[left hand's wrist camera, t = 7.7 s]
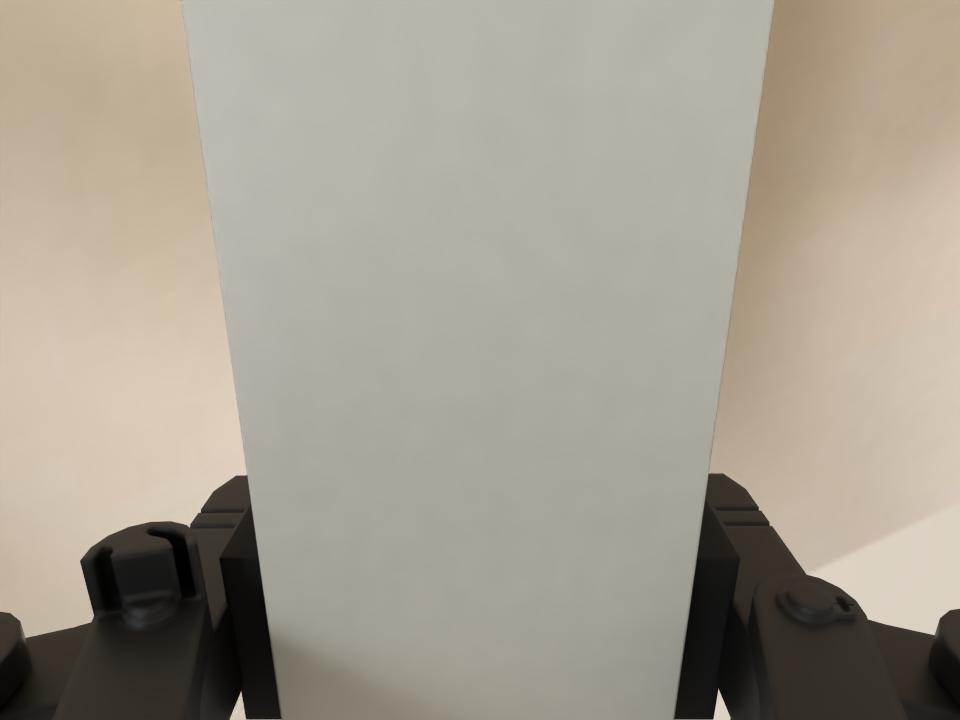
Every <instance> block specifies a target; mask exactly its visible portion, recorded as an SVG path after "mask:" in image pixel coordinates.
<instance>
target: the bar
mask: <svg viewBox="0 0 960 720" xmlns="http://www.w3.org/2000/svg"><path fill="white" fill-rule="evenodd" d="M181 2H182V9H183V17H184V24H185V31H186V38H187V45H188V52H189V60H190V67H191V74H192V81H193V88H194V96H195V103H196V110H197V117H198V124H199V131H200V139H201V146H202V153H203V160H204V167H205V175H206V182H207V189H208V196H209V203H210V211H211V218H212V225H213V232H214V239H215V246H216V254H217V261H218V268H219V275H220V282H221V290H222V297H223V304H224V311H225V318H226V325H227V333H228V340H229V347H230V354H231V361H232V369H233V376H234V383H235V390H236V397H237V404H238V412H239V419H240V426H241V433H242V440H243V448H244V455H245V462H246V469H247V476H248V483H249V491H250V498H251V505H252V512H253V519H254V527H255V534H256V541H257V548H258V555H259V562H260V570H261V577H262V584H263V591H264V598H265V606H266V613H267V620H268V627H269V634H270V641H271V649H272V656H273V663H274V670H275V677H276V685H277V692H278V699H279V706H280V713H281V720H674V717H675V709H676V702H677V695H678V688H679V681H680V674H681V667H682V659H683V652H684V645H685V638H686V631H687V624H688V617H689V609H690V602H691V595H692V588H693V581H694V574H695V567H696V559H697V552H698V545H699V538H700V531H701V524H702V517H703V509H704V502H705V495H706V488H707V481H708V474H709V467H710V459H711V452H712V445H713V438H714V431H715V424H716V417H717V409H718V402H719V395H720V388H721V381H722V374H723V367H724V359H725V352H726V345H727V338H728V331H729V324H730V317H731V309H732V302H733V295H734V288H735V281H736V274H737V267H738V259H739V252H740V245H741V238H742V231H743V224H744V217H745V209H746V202H747V195H748V188H749V181H750V174H751V167H752V159H753V152H754V145H755V138H756V131H757V124H758V117H759V109H760V102H761V95H762V88H763V81H764V74H765V67H766V59H767V52H768V45H769V38H770V31H771V24H772V17H773V9H774V2H775V0H181Z"/></svg>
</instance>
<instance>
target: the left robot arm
mask: <svg viewBox="0 0 960 720" xmlns="http://www.w3.org/2000/svg"><path fill="white" fill-rule="evenodd" d="M190 525H191V526H190V528H189V527H188V526H187V525H184V524H180V523H175V522H171V521H168V522H149V523H145V524H140V525H136V526H132V527H128V528H126V529H123V530H121V531H119V532H116V533H114V534H111V535H109V536H107V537H106V538H104V539H103V540H101V541H100V542H98V543H97V544H96V545H94V546H93V547H91V548H90V549H89V551H88V552H87V553H86V554H85V556H84V557H83V558H82V559H81V561H80V563H81V566H82V570H83V574H84V578H85V582H86V586H87V590H88V594H89V597H90V601H91V605H92V609H93V613H94V618H93V620H92V622H91V623H88V624H84V625H81V626H77V627H74V628H69V629H65V630H60V631H56V632H51V633H46V634H42V635H37V636H33V637H28V638H25V635H24V632H23V629H22V626H21V622H20V621H19V620H18V619H17V618H15V617H14V616H13V615H12V614H11V613H5V612H0V720H230V717H231V714H232V712H233V709H234V707H235V704H236V702H237V700H238V697H239V695H240V692H241V691H242V697H243V703H244V709H245V715H246V719H281V713H280V706H279V699H278V692H277V685H276V677H275V670H274V663H273V656H272V649H271V641H270V634H269V627H268V620H267V613H266V606H265V598H264V591H263V584H262V577H261V570H260V562H259V555H258V548H257V541H256V534H255V527H254V519H253V512H252V505H251V498H250V491H249V483H248V476H235V477H234V478H232V479H231V480H229V481H228V482H227V483H225V484H224V485H222V486H221V487H219V488H218V489H216V490H215V491H214V492H213V493H212V495H211V496H210V497H209V499H208V500H207V502H206V503H205V505H204V506H203V507H202V509H201V513H198V514H197V516H196V517H195V519H194V520H193V522H192V523H191V524H190ZM718 688H719V691H720V693H721V695H722V698H723V700H724V702H725V705H726V707H727V710H728V712H729V715H730V717H731V719H730V720H960V609H956V610H950V611H949V612H947V613H946V614H945V615H944V616H942V617H941V618H940V620H939V624H938V627H937V630H936V633H935V635H930V634H926V633H921V632H916V631H912V630H908V629H903V628H899V627H894V626H889V625H885V624H882V623H878V622H875V621H871V620H868V619H867V617H866V614H865V613H864V612H863V610H862V609H861V607H860V606H859V604H858V603H857V601H856V600H854V599H853V598H852V597H851V596H849V595H848V594H847V593H846V592H844V591H843V590H842V589H840V588H839V587H837V586H835V585H833V584H831V583H828V582H826V581H824V580H822V579H820V578H817V577H813V576H809V575H806V573H805V572H804V570H803V569H802V568H801V566H800V565H799V563H798V562H797V561H796V559H795V558H794V556H793V555H792V553H791V552H790V551H789V549H788V548H787V546H786V545H785V544H784V542H783V541H782V539H781V538H780V537H779V535H778V534H777V532H776V531H775V530H774V528H773V527H772V526H770V525H769V521H768V520H767V518H766V517H765V515H764V514H763V513H762V511H759V507H758V506H757V504H756V503H755V501H754V500H753V499H752V497H751V496H750V494H749V493H748V492H747V490H746V489H745V488H743V487H742V486H740V485H739V484H738V483H736V482H735V481H733V480H732V479H730V478H729V477H727V476H726V475H724V474H708V481H707V488H706V495H705V502H704V509H703V517H702V524H701V531H700V538H699V545H698V552H697V559H696V567H695V574H694V581H693V588H692V595H691V602H690V609H689V617H688V624H687V631H686V638H685V645H684V652H683V659H682V667H681V674H680V681H679V688H678V695H677V702H676V709H675V717H674V720H678V719H679V720H681V719H682V720H683V719H687V720H689V719H692V720H693V719H694V720H696V719H698V720H700V719H701V720H706V719H707V720H711V719H713V718H714V712H715V706H716V700H717V694H718Z"/></svg>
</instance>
